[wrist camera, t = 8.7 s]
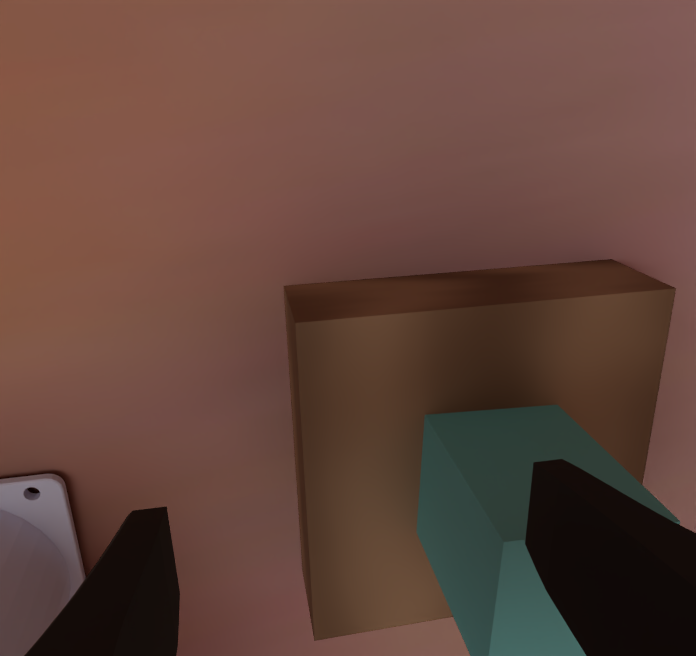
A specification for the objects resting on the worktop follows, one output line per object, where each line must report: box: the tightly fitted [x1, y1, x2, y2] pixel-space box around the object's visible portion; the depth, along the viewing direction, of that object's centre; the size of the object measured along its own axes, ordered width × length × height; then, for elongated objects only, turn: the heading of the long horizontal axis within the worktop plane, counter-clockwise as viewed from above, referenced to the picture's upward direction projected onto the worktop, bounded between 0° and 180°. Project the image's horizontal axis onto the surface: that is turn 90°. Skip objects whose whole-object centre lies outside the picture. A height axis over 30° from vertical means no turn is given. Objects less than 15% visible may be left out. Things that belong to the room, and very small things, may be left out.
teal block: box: [416, 405, 680, 656], centre depth 18 cm, size 4×4×6 cm
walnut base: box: [284, 259, 676, 641], centre depth 23 cm, size 12×12×4 cm
